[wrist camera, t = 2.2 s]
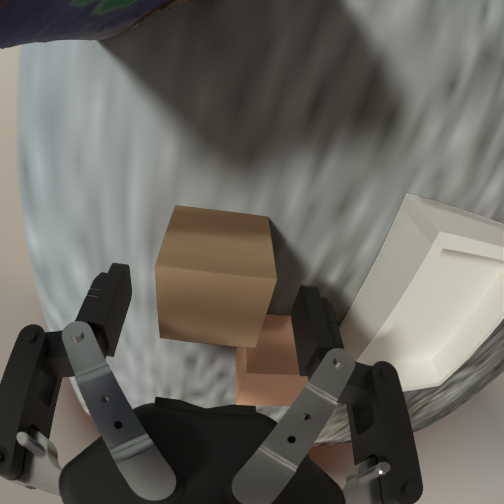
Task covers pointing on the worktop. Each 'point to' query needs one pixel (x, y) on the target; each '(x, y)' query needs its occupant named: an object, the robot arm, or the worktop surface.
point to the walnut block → (214, 277)
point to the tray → (429, 293)
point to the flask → (72, 19)
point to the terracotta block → (269, 366)
